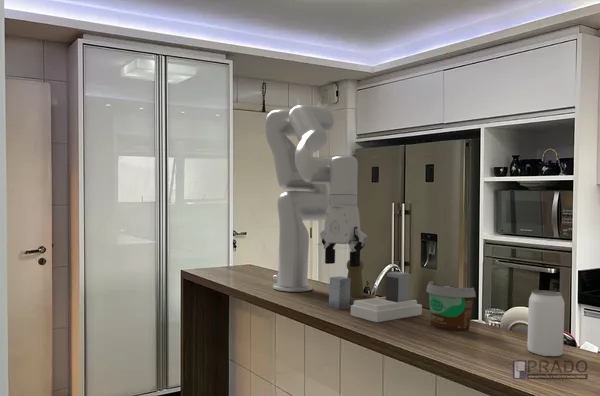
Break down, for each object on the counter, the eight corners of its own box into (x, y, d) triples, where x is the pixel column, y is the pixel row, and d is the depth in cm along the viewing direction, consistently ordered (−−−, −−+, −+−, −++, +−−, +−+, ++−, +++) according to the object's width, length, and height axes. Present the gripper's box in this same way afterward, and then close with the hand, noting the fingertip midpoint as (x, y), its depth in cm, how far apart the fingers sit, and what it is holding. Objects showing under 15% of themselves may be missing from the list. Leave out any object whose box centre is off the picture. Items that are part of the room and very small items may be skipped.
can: (567, 353, 106) (569, 293, 106) (557, 359, 101) (559, 296, 101) (533, 346, 110) (535, 288, 110) (522, 352, 105) (524, 292, 105)
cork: (363, 297, 160) (364, 261, 160) (343, 296, 161) (344, 260, 161) (364, 294, 166) (365, 259, 166) (345, 293, 167) (346, 258, 167)
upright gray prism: (328, 306, 145) (329, 277, 145) (340, 305, 147) (341, 276, 147) (338, 309, 142) (339, 279, 142) (350, 307, 144) (351, 278, 144)
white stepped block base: (350, 315, 134) (351, 273, 135) (395, 308, 145) (396, 270, 145) (376, 322, 127) (378, 278, 128) (421, 314, 138) (423, 274, 138)
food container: (414, 324, 127) (415, 282, 127) (430, 321, 131) (431, 280, 131) (459, 335, 118) (460, 290, 118) (474, 331, 122) (476, 287, 122)
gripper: (312, 201, 149) (310, 263, 148) (355, 201, 135) (354, 268, 135) (331, 202, 153) (330, 261, 153) (376, 202, 140) (375, 267, 139)
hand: (342, 265), depth 144 cm, fingers open, 9 cm apart
